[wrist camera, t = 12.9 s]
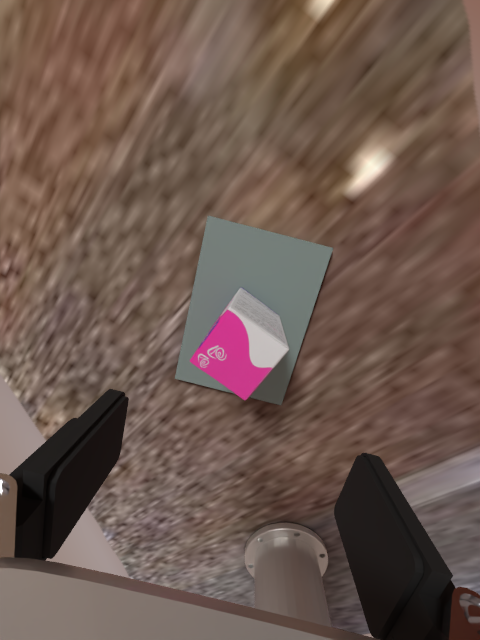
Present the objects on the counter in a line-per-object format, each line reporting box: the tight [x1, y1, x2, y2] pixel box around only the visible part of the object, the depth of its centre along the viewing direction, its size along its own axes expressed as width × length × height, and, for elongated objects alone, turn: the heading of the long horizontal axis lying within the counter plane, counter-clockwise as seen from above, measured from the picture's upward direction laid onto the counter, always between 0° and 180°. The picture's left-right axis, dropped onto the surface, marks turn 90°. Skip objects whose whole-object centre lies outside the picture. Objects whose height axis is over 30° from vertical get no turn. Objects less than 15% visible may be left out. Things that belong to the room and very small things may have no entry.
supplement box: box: [190, 287, 289, 400], centre depth 26 cm, size 6×6×12 cm
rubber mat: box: [175, 216, 333, 405], centre depth 31 cm, size 20×14×1 cm
